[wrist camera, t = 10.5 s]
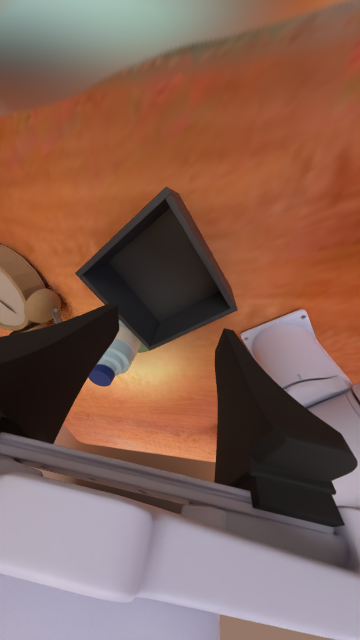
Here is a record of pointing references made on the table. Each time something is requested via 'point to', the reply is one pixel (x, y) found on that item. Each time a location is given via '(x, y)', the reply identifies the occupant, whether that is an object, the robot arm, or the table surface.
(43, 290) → the alarm clock
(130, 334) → the bottle
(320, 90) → the table surface
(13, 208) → the table surface
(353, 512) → the robot arm
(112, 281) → the bin
